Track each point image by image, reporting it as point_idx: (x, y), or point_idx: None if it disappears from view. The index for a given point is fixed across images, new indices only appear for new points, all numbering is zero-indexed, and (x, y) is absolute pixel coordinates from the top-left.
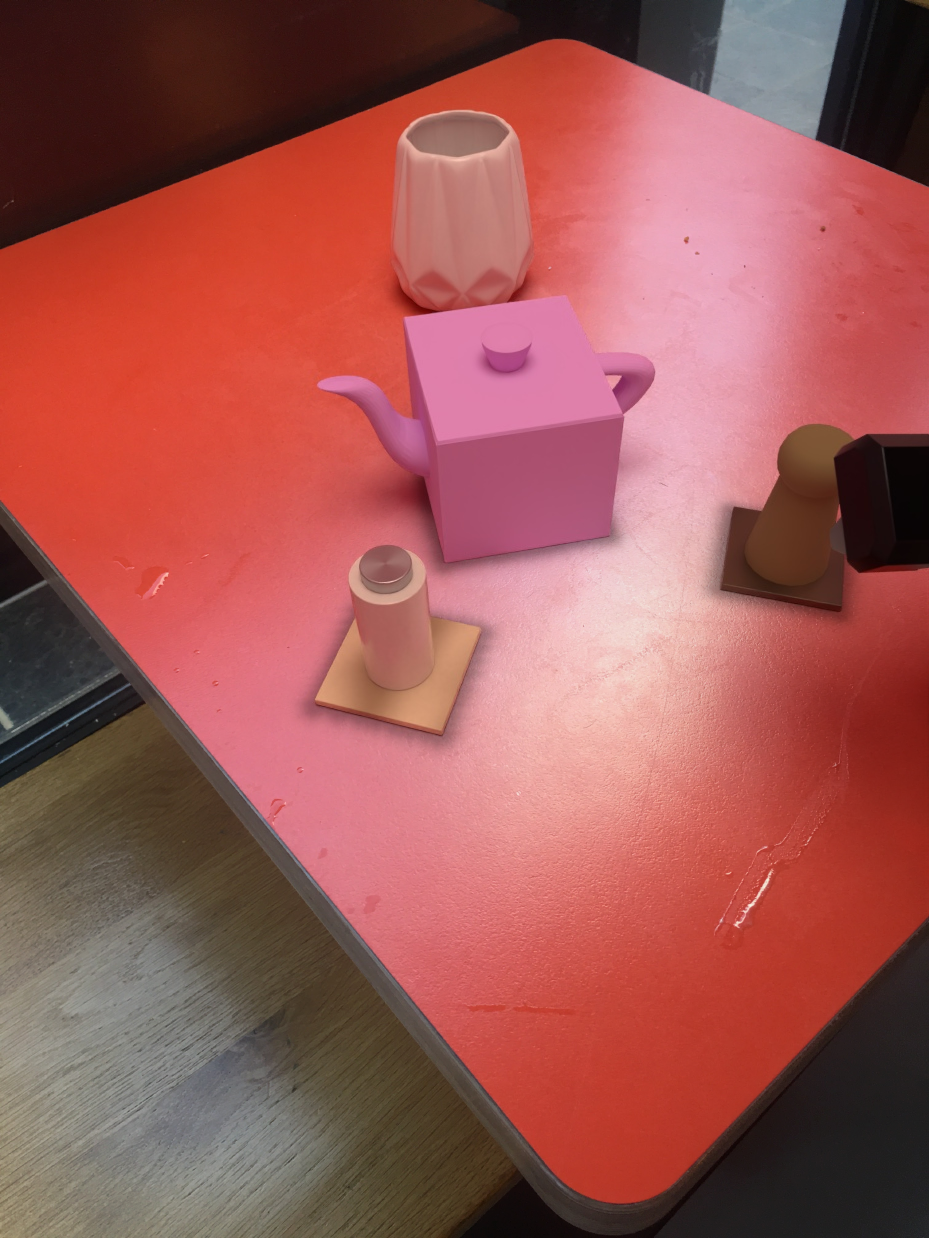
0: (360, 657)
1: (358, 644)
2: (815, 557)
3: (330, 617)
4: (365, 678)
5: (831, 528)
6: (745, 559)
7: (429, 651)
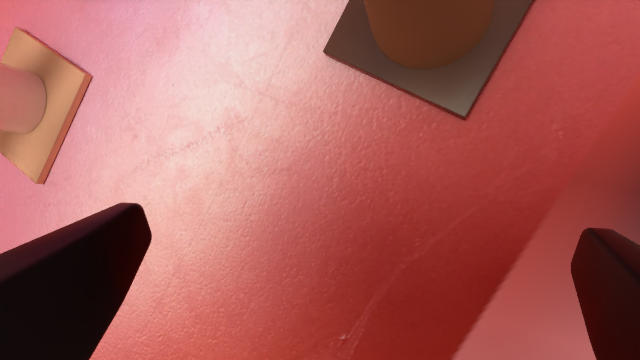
0: None
1: None
2: (433, 43)
3: (2, 38)
4: None
5: (109, 207)
6: None
7: (7, 112)
